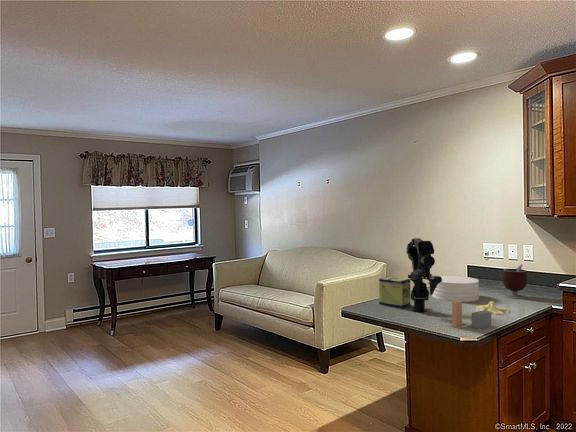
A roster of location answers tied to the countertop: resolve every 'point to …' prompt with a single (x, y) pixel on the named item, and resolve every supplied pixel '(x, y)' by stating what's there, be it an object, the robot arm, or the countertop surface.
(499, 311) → the cloth
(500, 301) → the countertop surface
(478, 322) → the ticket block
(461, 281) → the plate stack
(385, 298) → the protein box
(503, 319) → the countertop surface
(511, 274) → the mate gourd
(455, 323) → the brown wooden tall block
